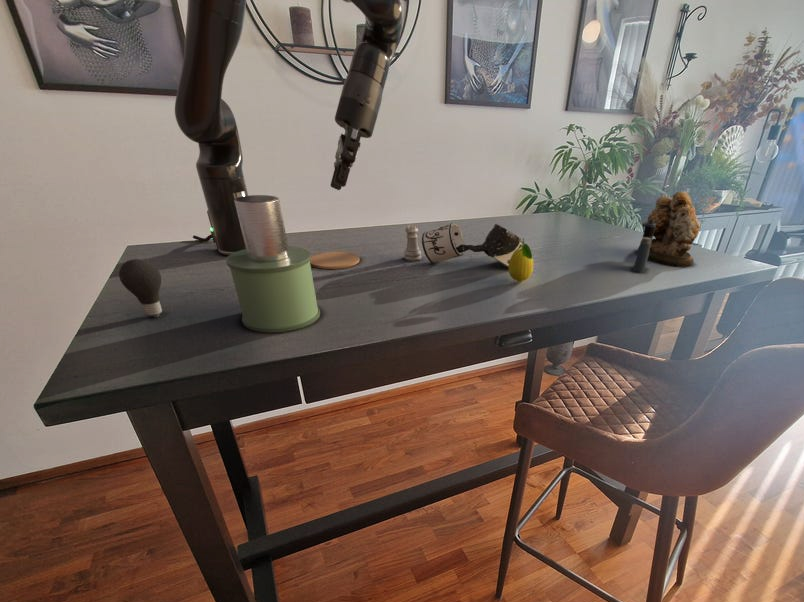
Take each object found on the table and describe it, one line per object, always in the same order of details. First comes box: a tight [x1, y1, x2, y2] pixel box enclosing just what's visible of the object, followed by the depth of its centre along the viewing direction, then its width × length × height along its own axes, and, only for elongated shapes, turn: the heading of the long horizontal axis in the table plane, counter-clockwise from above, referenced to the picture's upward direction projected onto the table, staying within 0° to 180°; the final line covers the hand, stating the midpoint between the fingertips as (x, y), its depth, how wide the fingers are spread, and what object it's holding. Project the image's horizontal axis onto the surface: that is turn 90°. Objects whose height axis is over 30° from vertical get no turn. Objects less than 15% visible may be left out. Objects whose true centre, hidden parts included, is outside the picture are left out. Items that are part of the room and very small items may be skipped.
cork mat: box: [310, 251, 361, 270], centre depth 107 cm, size 12×12×1 cm
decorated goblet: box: [421, 222, 526, 268], centre depth 107 cm, size 25×10×10 cm, turn 92°
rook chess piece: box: [403, 224, 422, 262], centre depth 109 cm, size 4×4×8 cm
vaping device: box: [633, 219, 656, 274], centre depth 109 cm, size 3×5×12 cm, turn 155°
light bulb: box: [118, 258, 163, 318], centre depth 75 cm, size 6×6×10 cm
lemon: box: [508, 237, 534, 284], centre depth 97 cm, size 7×6×10 cm
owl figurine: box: [637, 190, 701, 267], centre depth 118 cm, size 18×12×17 cm, turn 27°
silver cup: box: [234, 194, 290, 262], centre depth 71 cm, size 6×6×9 cm
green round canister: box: [225, 245, 321, 334], centre depth 77 cm, size 13×13×11 cm
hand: (337, 186), depth 91 cm, fingers open, 8 cm apart
